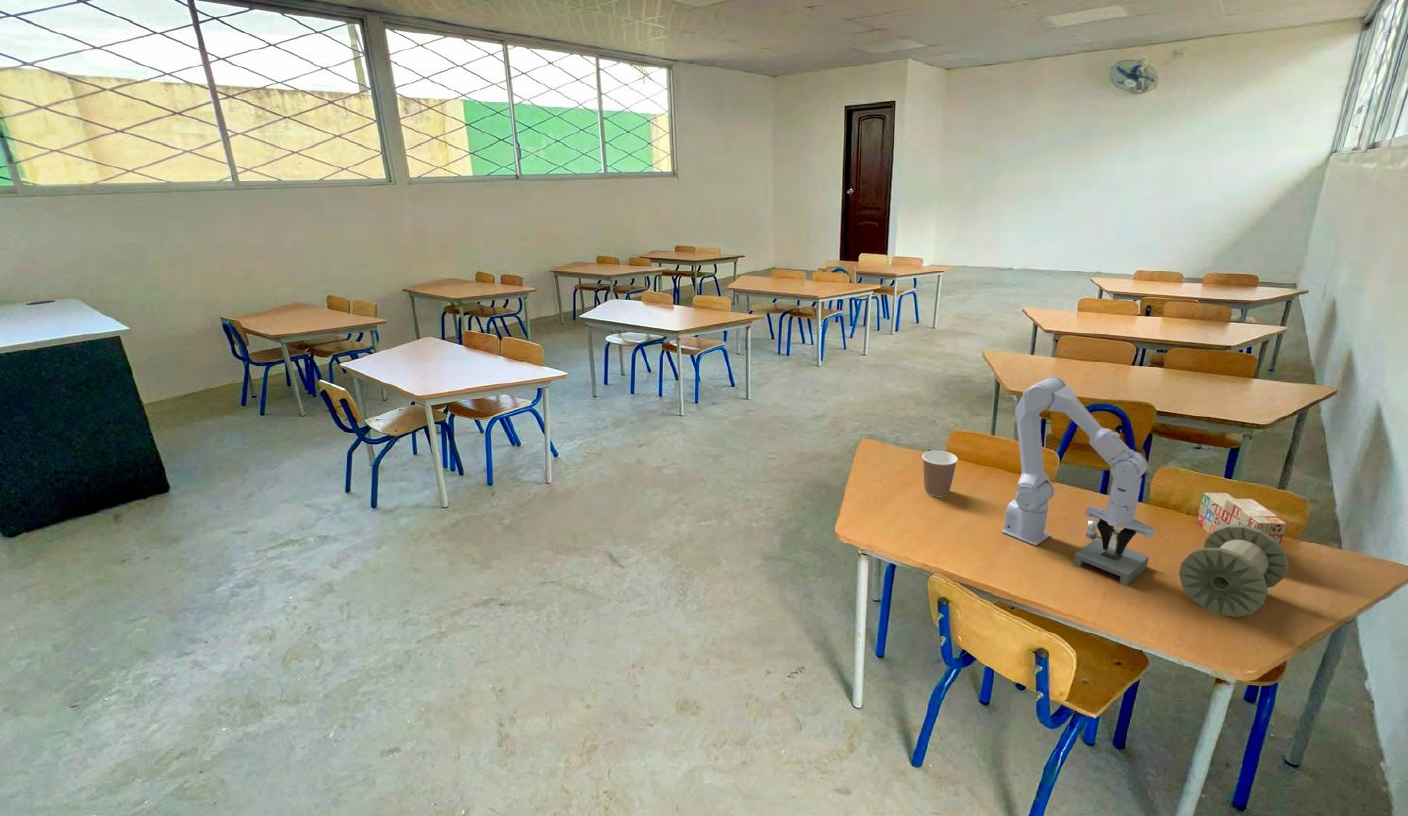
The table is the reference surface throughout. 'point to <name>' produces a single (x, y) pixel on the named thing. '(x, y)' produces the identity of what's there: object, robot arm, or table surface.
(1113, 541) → the long pin
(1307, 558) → the table surface
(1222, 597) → the spool
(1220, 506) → the stack of blocks
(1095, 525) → the short pin
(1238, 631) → the table surface
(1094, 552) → the board
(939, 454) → the coffee cup
